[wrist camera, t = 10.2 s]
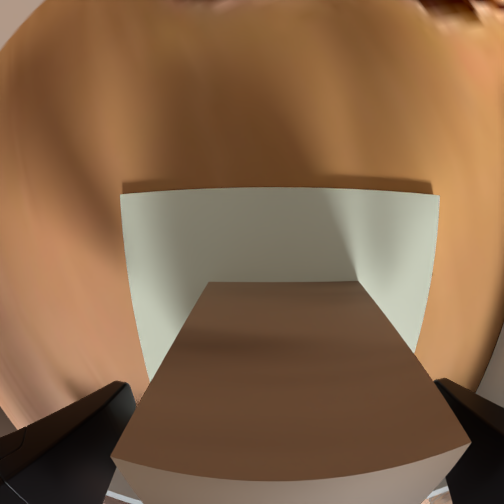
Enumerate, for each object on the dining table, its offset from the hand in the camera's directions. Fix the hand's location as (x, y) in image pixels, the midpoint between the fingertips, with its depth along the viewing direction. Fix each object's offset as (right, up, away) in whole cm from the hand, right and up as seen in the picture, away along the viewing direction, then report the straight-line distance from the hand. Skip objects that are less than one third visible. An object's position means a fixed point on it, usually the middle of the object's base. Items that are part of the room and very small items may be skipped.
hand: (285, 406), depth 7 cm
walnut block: (0, +1, +3) cm, 3 cm away
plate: (0, +1, +3) cm, 4 cm away
